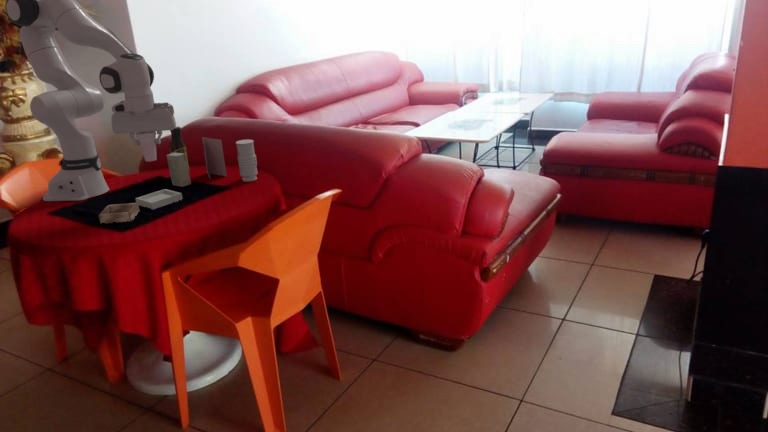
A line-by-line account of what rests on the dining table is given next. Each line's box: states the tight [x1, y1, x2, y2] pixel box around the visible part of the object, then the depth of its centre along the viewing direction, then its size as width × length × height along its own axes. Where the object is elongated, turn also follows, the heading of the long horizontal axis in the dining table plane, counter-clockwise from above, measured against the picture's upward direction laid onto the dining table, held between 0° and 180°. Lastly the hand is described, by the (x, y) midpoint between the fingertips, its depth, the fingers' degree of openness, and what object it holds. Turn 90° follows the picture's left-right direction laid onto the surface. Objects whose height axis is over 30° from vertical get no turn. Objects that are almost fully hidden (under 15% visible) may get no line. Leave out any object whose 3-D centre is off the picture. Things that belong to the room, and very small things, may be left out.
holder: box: [98, 202, 140, 225], centre depth 198 cm, size 10×10×3 cm
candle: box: [235, 139, 259, 182], centre depth 231 cm, size 7×7×15 cm
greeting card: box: [201, 136, 227, 179], centre depth 238 cm, size 11×7×15 cm, turn 21°
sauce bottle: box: [169, 126, 190, 171], centre depth 239 cm, size 6×6×20 cm
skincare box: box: [166, 153, 192, 188], centre depth 229 cm, size 6×4×12 cm
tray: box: [135, 188, 184, 210], centre depth 212 cm, size 12×10×2 cm
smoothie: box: [135, 131, 157, 162], centre depth 204 cm, size 6×6×14 cm
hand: (148, 144), depth 204 cm, fingers closed on smoothie, 5 cm apart
